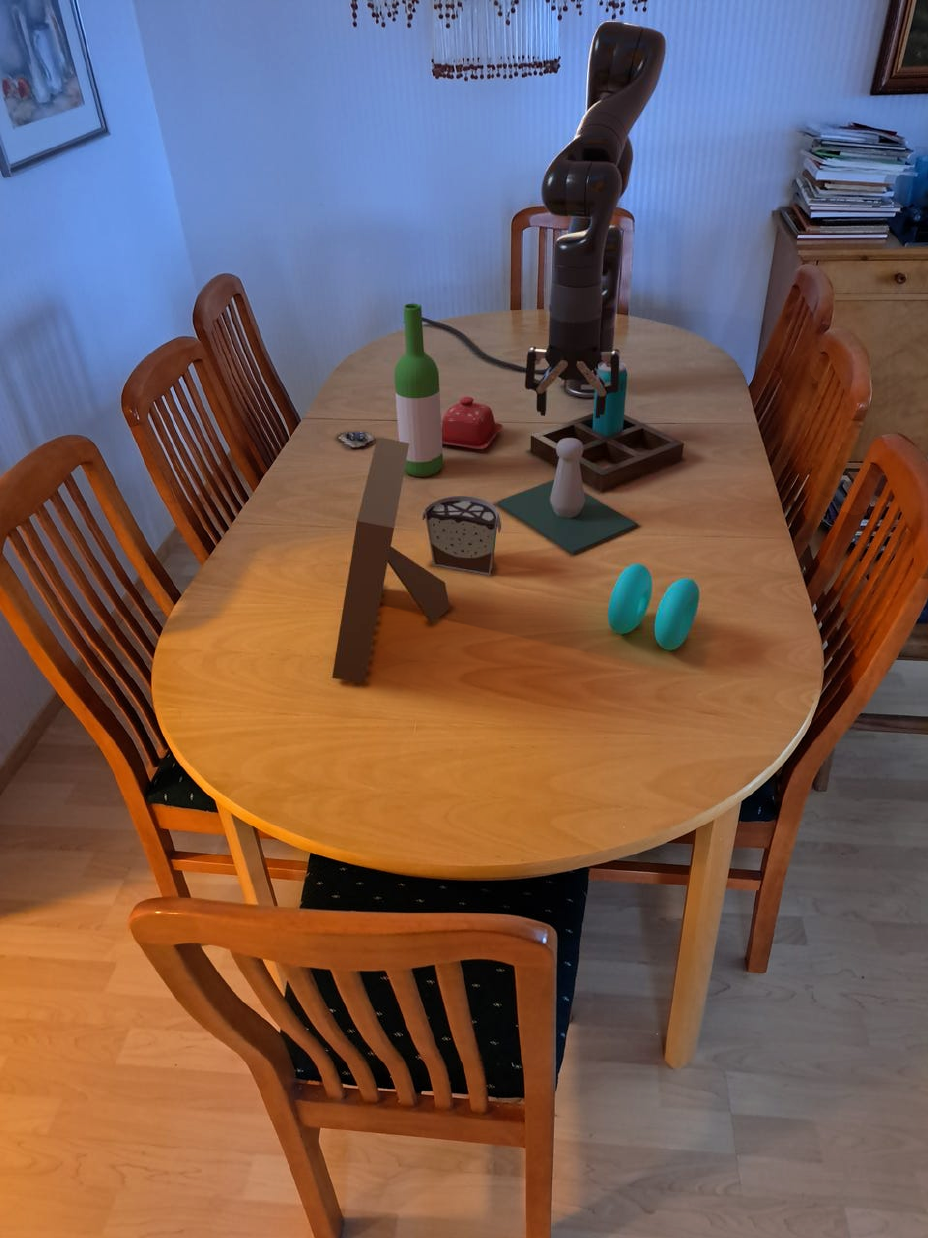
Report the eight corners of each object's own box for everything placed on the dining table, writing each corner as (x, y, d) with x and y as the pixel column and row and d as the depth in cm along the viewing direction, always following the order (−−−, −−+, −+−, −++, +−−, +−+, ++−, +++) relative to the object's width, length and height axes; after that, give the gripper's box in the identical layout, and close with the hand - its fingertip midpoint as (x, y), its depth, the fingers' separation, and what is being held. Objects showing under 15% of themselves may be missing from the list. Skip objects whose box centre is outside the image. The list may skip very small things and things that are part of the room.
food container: (511, 555, 142) (511, 500, 136) (499, 576, 138) (499, 520, 132) (438, 543, 146) (435, 489, 140) (424, 563, 141) (421, 508, 135)
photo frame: (332, 683, 119) (308, 520, 104) (354, 588, 136) (336, 437, 121) (444, 683, 118) (436, 520, 103) (451, 588, 136) (445, 436, 121)
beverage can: (625, 436, 175) (632, 362, 166) (616, 449, 171) (622, 373, 162) (597, 431, 177) (602, 357, 168) (587, 444, 173) (592, 368, 164)
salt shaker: (584, 504, 154) (588, 433, 146) (584, 521, 149) (589, 450, 141) (549, 503, 154) (552, 433, 146) (549, 520, 150) (551, 449, 142)
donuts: (670, 666, 120) (679, 606, 114) (601, 643, 124) (606, 584, 118) (697, 627, 127) (706, 568, 121) (631, 606, 131) (637, 548, 125)
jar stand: (530, 451, 171) (530, 434, 169) (608, 423, 180) (609, 407, 178) (601, 492, 158) (603, 474, 156) (682, 459, 167) (684, 442, 165)
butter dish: (429, 446, 174) (427, 405, 168) (452, 422, 182) (450, 382, 177) (484, 455, 170) (484, 413, 165) (505, 430, 178) (505, 389, 173)
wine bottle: (451, 467, 167) (445, 304, 148) (422, 483, 162) (411, 316, 144) (422, 455, 171) (412, 295, 153) (392, 470, 166) (379, 306, 148)
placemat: (496, 504, 155) (496, 501, 155) (559, 480, 162) (559, 477, 161) (573, 554, 142) (573, 551, 142) (637, 526, 148) (637, 523, 148)
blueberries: (358, 452, 172) (357, 443, 171) (328, 442, 176) (327, 433, 175) (381, 439, 177) (380, 430, 176) (351, 429, 181) (350, 420, 179)
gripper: (625, 304, 133) (617, 407, 143) (529, 301, 135) (527, 402, 145) (624, 322, 127) (615, 427, 137) (523, 318, 129) (522, 423, 139)
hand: (570, 414), depth 141 cm, fingers open, 8 cm apart
